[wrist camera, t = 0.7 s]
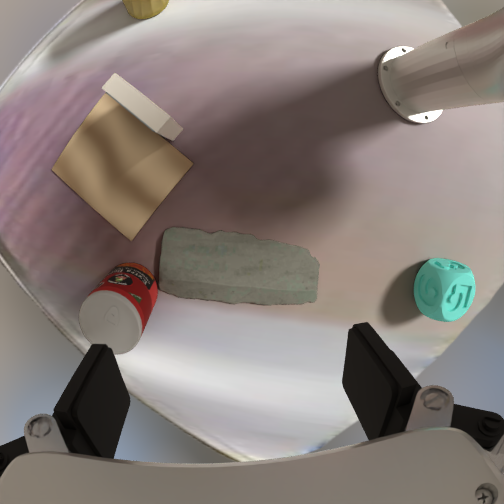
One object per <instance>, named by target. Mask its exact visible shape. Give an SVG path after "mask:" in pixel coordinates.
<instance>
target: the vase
mask: <svg viewBox="0 0 504 504" xmlns="http://www.w3.org/2000/svg"><path fill="white" fill-rule="evenodd" d="M122 1H123V3H124V5H125V7H126V8H127V10H128V14H129V15H131V16H132V17H134V18H137V19H147V18H150V17H153V16H155V15H157V14H159V13H160V12H162V11H163V10H164V9H165V8H166V6H167V4H168V2H169V0H122Z"/></svg>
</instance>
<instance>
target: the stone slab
mask: <svg viewBox="0 0 504 504" xmlns="http://www.w3.org/2000/svg"><path fill="white" fill-rule="evenodd" d="M161 251H162V252H161V255H160V267H159V287H160V289H161V290H162V291H165V292H167V293H168V294H173V295H175V296H177V297H182V298H186V299H188V298H190V299H203V300H207V301H208V300H215V301H221V302H226V303H230V304H237V303H242V302H246V303H256V304H262V305H270V306H271V305H274V304H275V305H276V304H304V303H306V302H315V301H316V299H317V286H318V275H319V266H320V264H319V262H318V261H317V259H316V258H315V257H312V256H311V255H310V252H309V250H308V249H305V248H302V247H299V246H294V245H289V244H285V243H280V242H277V241H274V240H259V239H257V238H256V237H255V236H254V235H251V234H240V233H237V232H224V231H222V230H220V231H217V232H215V233H212V234H210V233H206V232H204V231H202V230H200V229H189V228H184V227H180V228H175V227H172V228H170V229H167V230H165V232H164V235H163V240H162V249H161Z"/></svg>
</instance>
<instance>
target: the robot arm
mask: <svg viewBox="0 0 504 504" xmlns="http://www.w3.org/2000/svg"><path fill="white" fill-rule="evenodd" d="M378 79H379V84H380V88H381V90H382V92H383V95H384V97H385V98H386V100H387V102H388V103H389V105H390V106H391V107H392V108H393V110H395V111H396V112H397V113H398V114H399V115H400V116H402V117H403V118H404V119H406V120H408V121H410V122H414V123H429V122H431V121H434V120H435V119H436V118H438V116H439V115H440V114H441V112H442V110H445V109H452V108H459V107H466V106H474V105H482V104H491V103H500V102H504V7H503V8H501V9H500V10H498V11H496V12H494V13H492V14H491V15H489V16H487V17H485V18H482V19H480V20H478V21H476V22H473V23H471V24H468V25H466V26H464V27H461V28H459V29H456V30H454V31H452V32H449V33H447V34H445V35H443V36H440V37H438V38H436V39H434V40H432V41H429V42H427V43H425V44H423V45H421V46H419V47H417V48H415V49H414V48H411V47H406V46H397V47H394V48H392V49H390V50H388V51H387V52H386V53H385V54H384V55H383V56H382V58H381V60H380V63H379V66H378ZM342 384H343V388H344V390H345V392H346V394H347V396H348V398H349V400H350V402H351V404H352V406H353V408H354V410H355V412H356V415H357V417H358V419H359V421H360V423H361V425H362V427H363V429H364V431H365V433H366V435H367V437H368V439H369V441H365V442H361V443H357V444H353V445H349V446H344V447H340V448H335V449H330V450H326V451H321V452H315V453H310V454H304V455H298V456H291V457H284V458H277V459H268V460H259V461H248V462H234V463H214V464H213V463H212V464H175V463H153V462H140V461H129V460H119V459H114V455H115V452H116V448H117V445H118V441H119V438H120V435H121V431H122V428H123V425H124V421H125V418H126V415H127V412H128V409H129V406H130V396H129V393H128V391H127V388H126V386H125V383H124V381H123V378H122V375H121V373H120V370H119V367H118V364H117V362H116V359H115V356H114V353H113V350H112V348H110V347H108V345H107V344H92V345H91V347H90V349H89V350H88V352H87V353H86V355H85V357H84V358H83V360H82V362H81V363H80V365H79V367H78V368H77V370H76V371H75V373H74V375H73V376H72V378H71V380H70V382H69V383H68V385H67V387H66V389H65V390H64V392H63V394H62V395H61V397H60V399H59V401H58V403H57V404H56V406H55V408H54V413H53V415H52V416H51V415H48V414H38V415H35V416H33V417H31V418H30V419H29V420H28V421H27V422H26V424H25V427H24V435H25V436H23V437H20V438H18V439H16V440H13V441H11V442H9V443H6V444H4V445H1V446H0V504H504V419H503V418H502V417H501V416H500V415H498V414H497V413H494V412H490V411H485V410H480V409H475V408H470V407H466V406H461V405H457V404H454V398H453V396H452V394H451V392H450V391H449V390H447V389H445V388H444V387H441V386H436V385H430V386H426V387H424V388H421V386H420V385H419V384H418V382H417V381H416V380H415V379H414V377H413V376H412V375H411V373H410V372H409V371H408V370H407V368H406V367H405V366H404V364H403V363H402V362H401V361H400V359H399V358H398V357H397V356H396V354H395V353H394V352H393V351H392V350H390V349H389V348H388V346H387V345H386V344H385V343H384V341H383V340H382V339H381V338H380V336H379V335H378V334H377V333H376V331H375V330H374V329H373V328H372V327H371V325H370V324H369V323H368V322H365V323H359V324H354V325H353V327H352V328H351V329H349V331H348V340H347V348H346V356H345V364H344V371H343V378H342Z"/></svg>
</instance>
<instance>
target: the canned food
mask: <svg viewBox="0 0 504 504" xmlns="http://www.w3.org/2000/svg"><path fill="white" fill-rule="evenodd" d="M157 294H158V290H157V284H156V281H155V279H154V277H153V275H152V274H151V272H150V271H149V270H148V269H147V268H145V267H144V266H142V265H140V264H137V263H124V264H120V265H119V266H117V267H115V268H114V269H113V270H112V271H111V272H110V273H109V274H108V275H107V276H106V277H105V278H104V279H103V280H102V281H101V282H100V283H99V285H98V286H97V287H96V288H95V289H94V290H93V291H92V292H91V293H90V294H89V295H88V297H87V298H86V299H85V300H84V302H83V304H82V305H81V308H80V311H79V323H80V327H81V330H82V332H83V334H84V336H85V337H86V339H87V340H88V341H89V342H90V343H91V344H107V345H108V347H110V348H112V350H113V353H114V354H124V353H126V352H129V351H130V350H132V349H133V348H134V347H135V346H136V345H137V343H138V341H139V340H140V338H141V335H142V333H143V331H144V329H145V326H146V324H147V321H148V319H149V316H150V314H151V312H152V309H153V307H154V305H155V302H156V299H157Z"/></svg>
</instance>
